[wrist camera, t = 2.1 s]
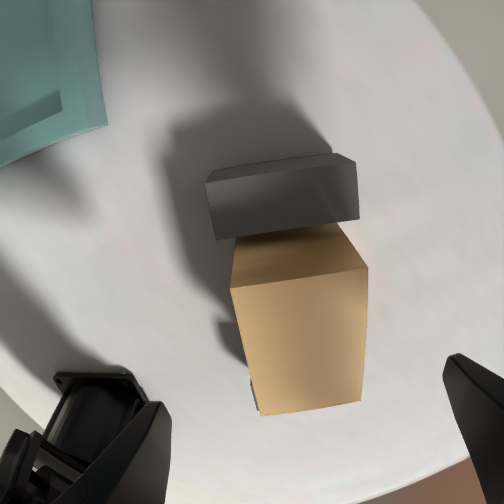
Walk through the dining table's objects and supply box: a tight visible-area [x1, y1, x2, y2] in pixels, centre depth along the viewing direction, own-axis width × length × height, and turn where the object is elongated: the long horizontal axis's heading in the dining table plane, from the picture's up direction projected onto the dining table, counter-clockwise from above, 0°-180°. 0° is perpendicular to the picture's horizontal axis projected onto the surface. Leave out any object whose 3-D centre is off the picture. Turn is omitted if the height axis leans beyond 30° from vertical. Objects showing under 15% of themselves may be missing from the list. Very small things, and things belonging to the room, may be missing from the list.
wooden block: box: [230, 222, 368, 416], centre depth 13 cm, size 4×6×5 cm, turn 9°
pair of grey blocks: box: [205, 153, 360, 410], centre depth 14 cm, size 5×11×2 cm, turn 9°
